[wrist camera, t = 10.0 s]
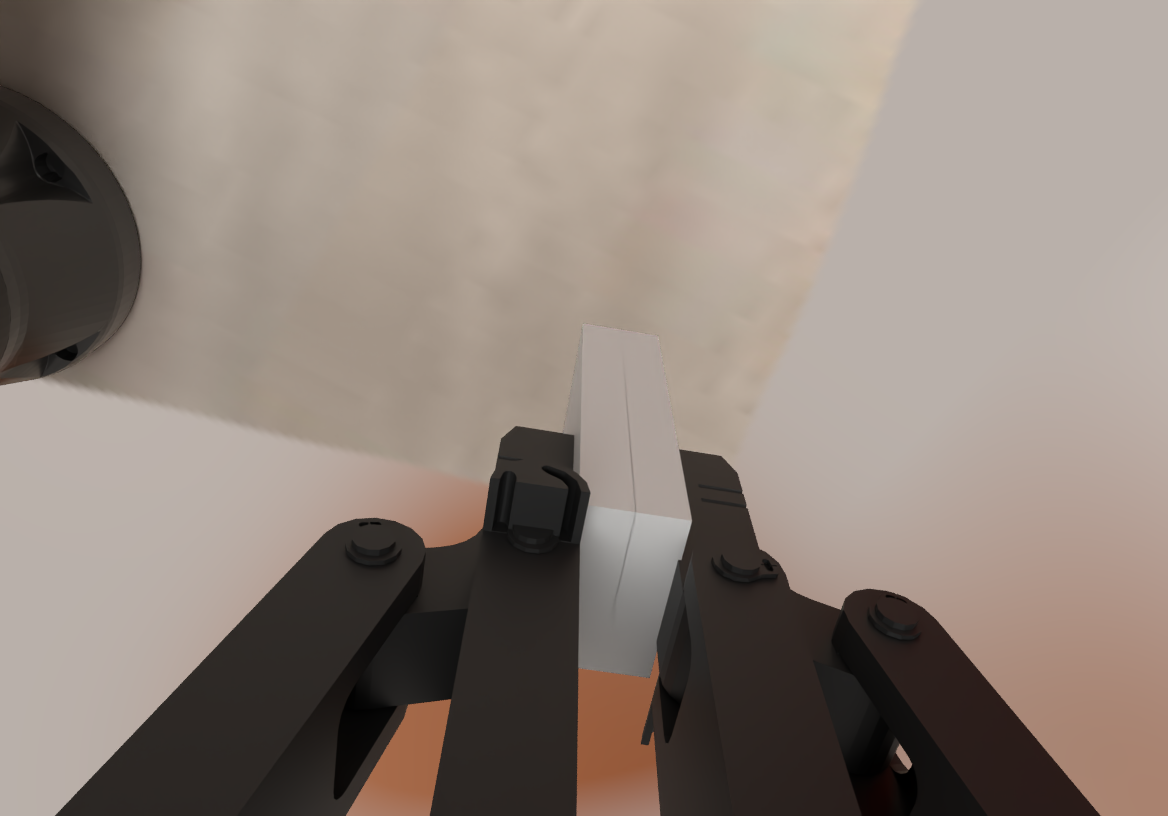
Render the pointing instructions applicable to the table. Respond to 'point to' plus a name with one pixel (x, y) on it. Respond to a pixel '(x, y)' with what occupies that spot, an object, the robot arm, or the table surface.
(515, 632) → the robot arm
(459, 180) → the table surface
